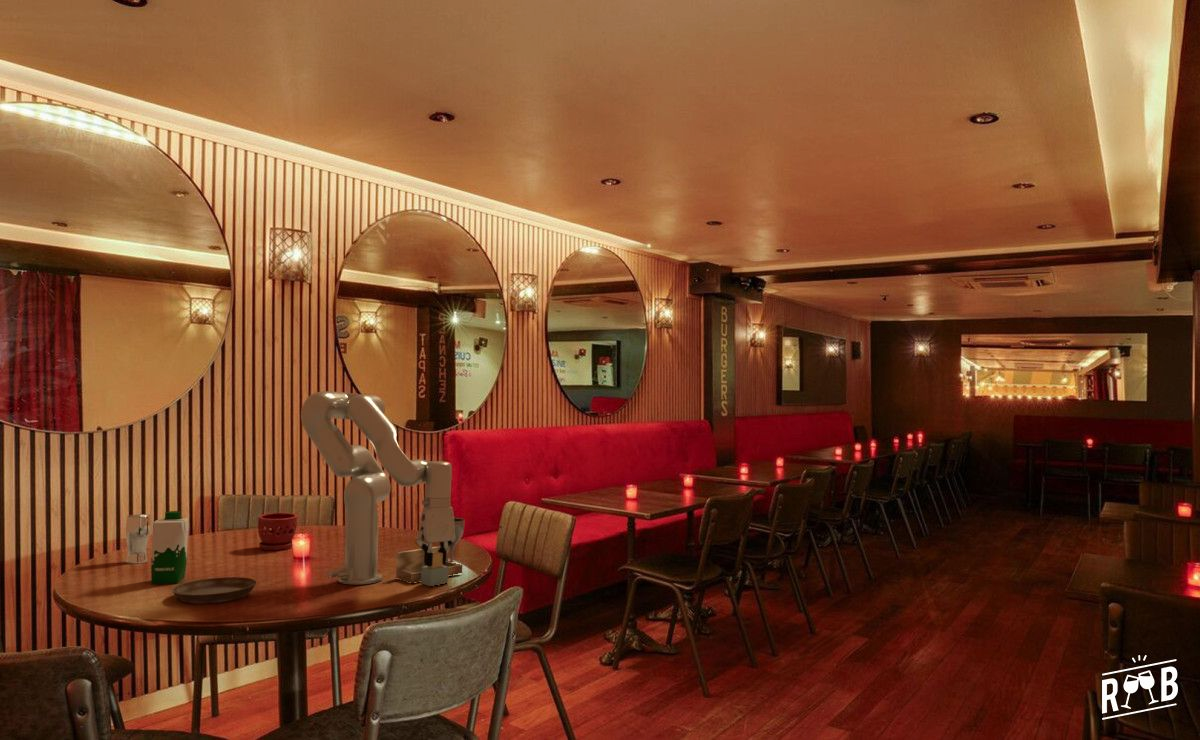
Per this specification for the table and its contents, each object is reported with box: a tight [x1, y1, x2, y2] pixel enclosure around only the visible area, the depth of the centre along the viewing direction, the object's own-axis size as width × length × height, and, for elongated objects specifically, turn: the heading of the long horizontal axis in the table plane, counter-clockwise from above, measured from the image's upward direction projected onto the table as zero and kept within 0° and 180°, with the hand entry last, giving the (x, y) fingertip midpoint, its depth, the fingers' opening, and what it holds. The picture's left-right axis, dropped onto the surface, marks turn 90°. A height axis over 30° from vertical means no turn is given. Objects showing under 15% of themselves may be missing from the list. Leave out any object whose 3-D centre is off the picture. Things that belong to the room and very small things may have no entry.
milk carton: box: [150, 510, 189, 585], centre depth 221 cm, size 9×9×20 cm
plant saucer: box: [171, 576, 258, 605], centre depth 206 cm, size 21×21×3 cm
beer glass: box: [125, 513, 152, 565], centre depth 246 cm, size 7×7×15 cm
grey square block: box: [420, 552, 449, 587], centre depth 224 cm, size 6×5×9 cm
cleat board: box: [395, 545, 463, 584], centre depth 233 cm, size 18×9×8 cm, turn 136°
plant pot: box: [257, 512, 298, 551], centre depth 272 cm, size 13×13×12 cm
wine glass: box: [448, 517, 465, 562], centre depth 250 cm, size 8×8×15 cm
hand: (435, 563), depth 224 cm, fingers closed on grey square block, 4 cm apart
